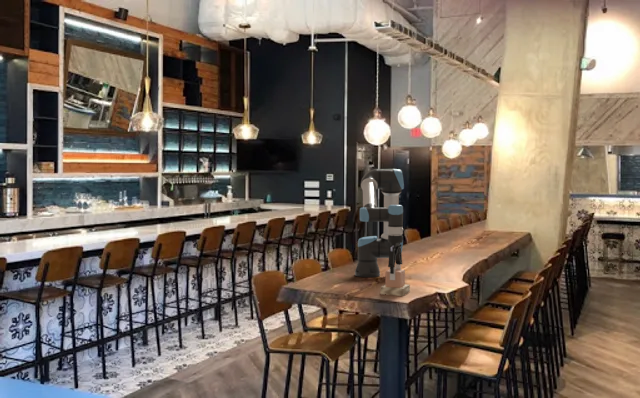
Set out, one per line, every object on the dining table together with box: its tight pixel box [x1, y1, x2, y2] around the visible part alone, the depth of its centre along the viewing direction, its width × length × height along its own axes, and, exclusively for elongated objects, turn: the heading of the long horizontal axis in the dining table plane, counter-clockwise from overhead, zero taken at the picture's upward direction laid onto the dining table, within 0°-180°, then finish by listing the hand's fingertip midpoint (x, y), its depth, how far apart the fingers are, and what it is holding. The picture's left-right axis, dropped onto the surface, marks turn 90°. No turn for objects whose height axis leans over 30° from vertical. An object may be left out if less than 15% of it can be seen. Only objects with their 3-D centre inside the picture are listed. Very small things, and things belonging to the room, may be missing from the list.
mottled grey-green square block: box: [380, 284, 411, 297], centre depth 324 cm, size 12×12×4 cm
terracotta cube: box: [384, 268, 406, 288], centre depth 323 cm, size 8×8×8 cm
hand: (395, 278), depth 323 cm, fingers open, 9 cm apart
